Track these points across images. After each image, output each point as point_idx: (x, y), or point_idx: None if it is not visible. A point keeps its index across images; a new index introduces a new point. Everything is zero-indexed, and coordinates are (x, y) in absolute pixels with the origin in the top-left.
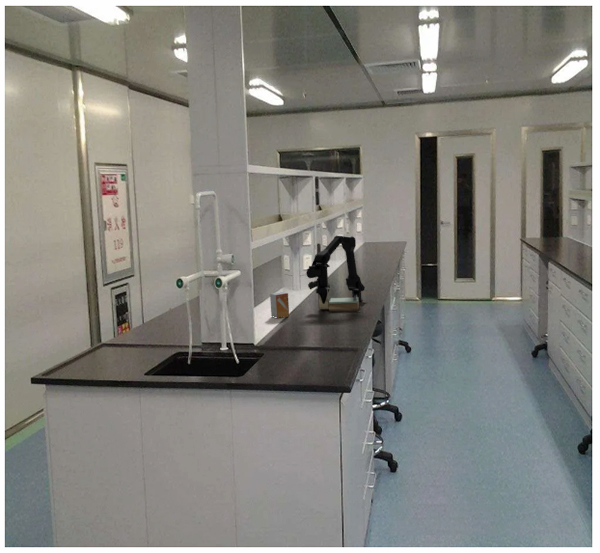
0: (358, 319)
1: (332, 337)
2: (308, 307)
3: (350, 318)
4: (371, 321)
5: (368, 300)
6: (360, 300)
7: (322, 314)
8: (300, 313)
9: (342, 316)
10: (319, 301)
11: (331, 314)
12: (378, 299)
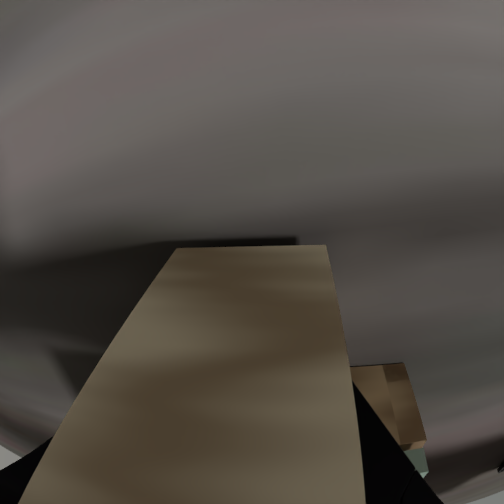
0: (15, 438)
1: None
2: (468, 11)
3: (11, 422)
4: (17, 454)
5: (498, 477)
6: (502, 468)
7: (3, 295)
8: (8, 19)
9: (21, 407)
10: (113, 347)
11: (31, 364)
12: (489, 493)
